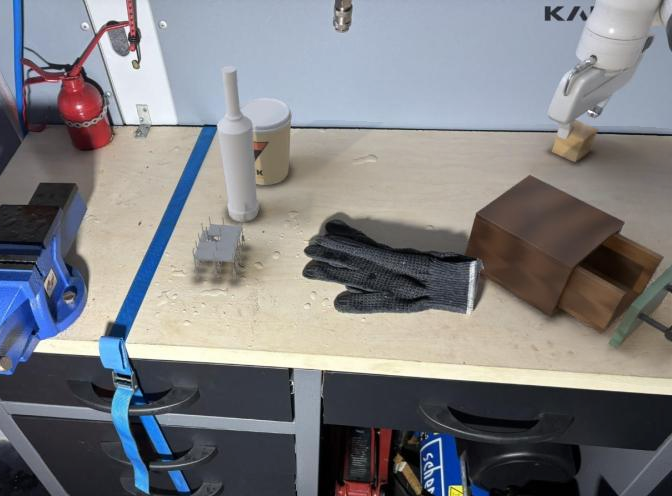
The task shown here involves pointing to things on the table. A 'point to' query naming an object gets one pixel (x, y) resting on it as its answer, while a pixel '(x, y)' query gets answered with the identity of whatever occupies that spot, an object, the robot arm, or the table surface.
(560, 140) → the block
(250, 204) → the bottle
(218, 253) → the building frame
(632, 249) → the drawer
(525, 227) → the cabinet
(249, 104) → the beige lidded tub
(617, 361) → the table surface
